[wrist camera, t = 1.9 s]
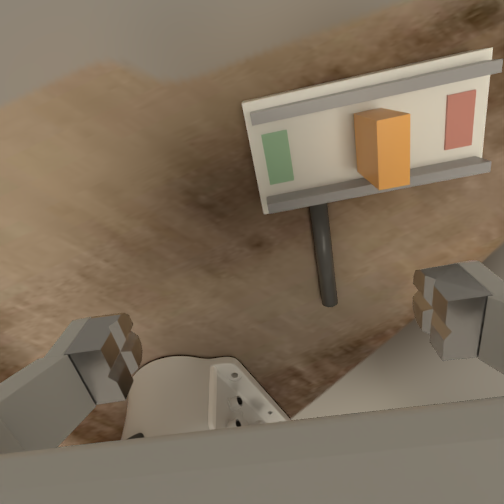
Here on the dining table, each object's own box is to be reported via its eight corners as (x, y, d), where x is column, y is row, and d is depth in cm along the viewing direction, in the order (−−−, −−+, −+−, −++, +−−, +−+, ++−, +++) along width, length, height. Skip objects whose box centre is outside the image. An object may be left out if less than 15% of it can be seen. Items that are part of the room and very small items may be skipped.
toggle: (380, 107, 25) (410, 113, 20) (382, 166, 27) (409, 184, 22) (353, 113, 25) (376, 120, 20) (357, 171, 27) (379, 190, 22)
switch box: (468, 50, 26) (512, 44, 22) (452, 277, 36) (480, 305, 31) (242, 101, 28) (240, 105, 24) (283, 305, 37) (287, 336, 33)
